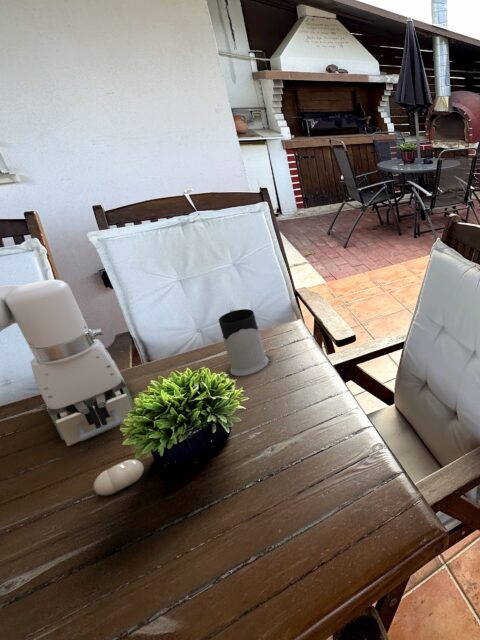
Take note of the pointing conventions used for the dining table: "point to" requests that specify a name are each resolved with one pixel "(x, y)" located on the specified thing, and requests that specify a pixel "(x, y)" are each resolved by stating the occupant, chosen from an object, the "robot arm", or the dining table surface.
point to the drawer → (79, 429)
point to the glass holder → (243, 342)
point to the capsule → (118, 477)
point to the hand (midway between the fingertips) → (101, 423)
